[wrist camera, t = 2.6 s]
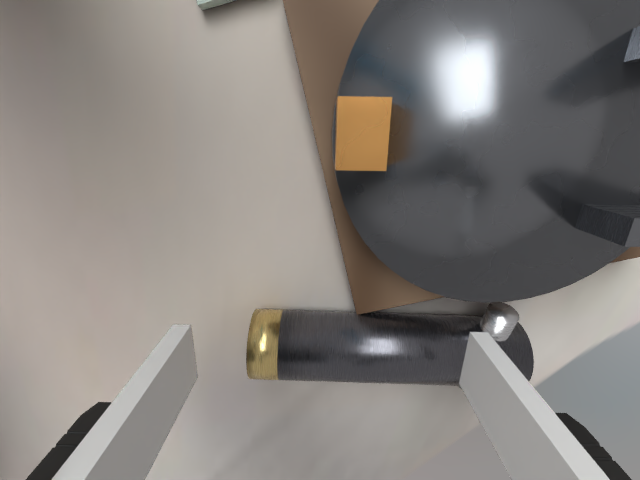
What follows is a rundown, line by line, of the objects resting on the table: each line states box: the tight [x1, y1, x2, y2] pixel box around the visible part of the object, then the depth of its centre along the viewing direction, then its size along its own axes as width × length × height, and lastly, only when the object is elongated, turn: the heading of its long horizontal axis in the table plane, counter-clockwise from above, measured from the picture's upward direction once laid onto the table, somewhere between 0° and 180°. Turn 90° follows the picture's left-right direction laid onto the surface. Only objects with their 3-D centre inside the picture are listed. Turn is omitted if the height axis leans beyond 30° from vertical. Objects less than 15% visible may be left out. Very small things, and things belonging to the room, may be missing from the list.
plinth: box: [283, 0, 640, 315], centre depth 14 cm, size 15×15×2 cm
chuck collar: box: [331, 0, 640, 302], centre depth 11 cm, size 14×14×4 cm
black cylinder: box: [246, 302, 534, 389], centre depth 17 cm, size 6×4×14 cm
